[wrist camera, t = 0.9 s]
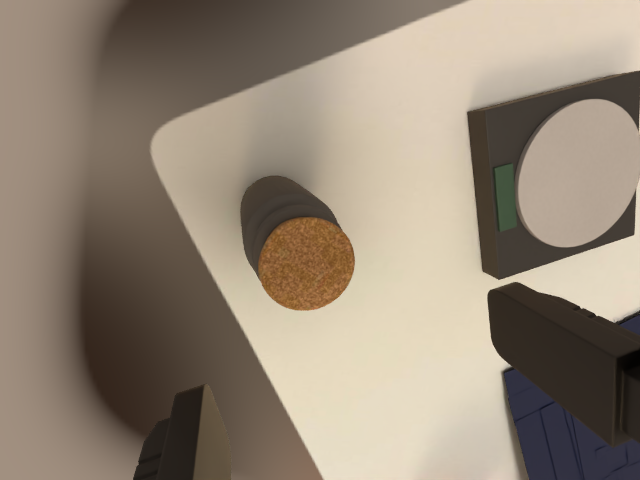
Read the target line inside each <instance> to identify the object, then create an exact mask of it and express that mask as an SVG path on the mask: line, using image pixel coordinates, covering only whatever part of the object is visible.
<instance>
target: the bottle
mask: <svg viewBox="0 0 640 480" xmlns="http://www.w3.org/2000/svg"><path fill="white" fill-rule="evenodd" d="M241 226H242V235H243V244H244V250H245V254H246V257H247V259H248V261H249V263H250V265H251V266H252V268H253V269H254V271H255V272H256V274H257V276H258V278H259V280H260V281H261V283H262V286H263V288H264V289H265V291H266V292H267V294H268V295H269V296H270V297H271V298H272V299H273V300H274V301H276V302H277V303H278V304H280V305H282V306H284V307H286V308H289V309H293V310H314V309H318V308H321V307H323V306H326V305H327V304H329V303H331V302H332V301H334V300H335V299H337V298H338V297H339V296H340V295H341V294H342V293H343V291H344V290H345V289H346V287H347V286H348V284H349V282H350V280H351V278H352V275H353V271H354V264H355V258H354V251H353V248H352V245H351V243H350V240H349V239H348V237H347V236H346V234H345V233H344V232H343V231H342V229H341V227H340V225H339V224H338V223H337V220H336V218H335V216H334V214H333V213H332V211H331V210H330V209H329V208H328V207H327V206H326V204H324V203H323V202H322V201H321V200H319V199H318V198H317V197H315V196H314V195H313V194H311V193H310V192H309V191H307V190H306V189H304V188H303V187H301V186H300V185H298V184H297V183H295V182H294V181H292V180H290V179H288V178H285V177H281V176H269V177H265V178H262V179H260V180H258V181H256V182H255V183H253V184H252V185H251V186H250V187H249V188H248V190H247V191H246V192H245V194H244V196H243V199H242V202H241Z"/></svg>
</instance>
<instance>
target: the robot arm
mask: <svg viewBox="0 0 640 480" xmlns="http://www.w3.org/2000/svg"><path fill="white" fill-rule="evenodd" d="M487 299H488V310H489V321H490V332H491V339H492V343H493V345H494V347H495V349H496V351H497V352H498V354H499V355H500V356H501V357H502V358H503V359H504V360H505V361H506V362H507V363H509V364H510V365H511V366H512V367H514V368H515V369H516V370H517V371H519V372H520V373H521V374H522V375H523V376H525V377H526V378H527V379H528V380H530V381H531V382H532V383H533V384H535V385H536V386H537V387H538V388H539V389H541V390H542V391H543V392H544V393H546V394H547V395H548V396H549V397H551V398H552V399H553V400H554V401H555V402H557V403H558V404H559V405H560V406H562V407H563V408H564V409H565V410H567V411H568V412H569V413H570V414H571V415H573V416H574V417H575V418H576V419H578V420H579V421H580V422H581V423H583V424H584V425H585V426H586V427H587V428H589V429H590V430H591V431H592V432H594V433H595V434H596V435H597V436H599V437H600V438H601V439H602V440H603V441H605V442H606V443H607V444H608V445H610V446H611V447H612V448H614V447H617V446H619V445H621V444H624V443H626V442H628V441H631V440H633V439H634V440H635V441H637V442H638V443H639V444H640V335H638V334H636V333H634V332H632V331H630V330H628V329H625V328H623V327H621V326H619V325H617V324H615V323H613V322H611V321H609V320H607V319H605V318H603V317H601V316H596V315H595V314H594V313H592V312H590V311H588V310H586V309H584V308H583V309H581V308H580V306H578V305H576V304H574V303H571V302H569V301H567V300H565V299H563V298H560V297H556V296H552V295H548V294H544V293H539V292H537V291H535V290H533V289H531V288H529V287H527V286H525V285H523V284H521V283H518V282H513V283H510V284H507V285H504V286H501V287H498V288H495V289H492V290H490V291H489V293H488V297H487ZM138 462H139V465H138V466H137V467H136V471H135V474H134V478H133V480H231V450H230V443H229V438H228V435H227V431H226V428H225V426H224V423H223V420H222V418H221V415H220V412H219V410H218V407H217V405H216V402H215V399H214V397H213V394H212V392H211V389H210V387H209V386H208V385H207V384H204V385H201V386H198V387H195V388H192V389H189V390H186V391H182V392H179V393H177V394H176V395H175V399H174V403H173V407H172V411H171V416H170V418H168V419H165V420H162V421H159V422H158V423H157V424H156V425H155V427H154V428H153V430H152V431H151V433H150V434H149V436H148V437H147V438H146V440H145V441H144V444H143V447H142V451H141V454H140V457H139V461H138Z"/></svg>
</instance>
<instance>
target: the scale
mask: <svg viewBox="0 0 640 480" xmlns="http://www.w3.org/2000/svg"><path fill="white" fill-rule="evenodd" d="M639 110H640V71H634V72H629V73H623V74H617V75H612V76H608V77H604V78H600V79H596V80H592V81H588V82H584V83H580V84H576V85H572V86H568V87H564V88H561V89H557V90H553V91H549V92H545V93H541V94H537V95H533V96H529V97H525V98H521V99H517V100H513V101H509V102H505V103H501V104H497V105H493V106H489V107H485V108H481V109H477V110H473V111H469V112H468V121H469V131H470V142H471V152H472V163H473V173H474V183H475V194H476V204H477V214H478V225H479V235H480V246H481V256H482V266H483V272H485V273H487V274H489V275H491V276H493V277H495V278H496V279H498V280H500V279H503V278H506V277H509V276H512V275H515V274H518V273H521V272H524V271H527V270H530V269H533V268H536V267H539V266H542V265H545V264H548V263H551V262H554V261H557V260H560V259H563V258H566V257H569V256H572V255H575V254H578V253H581V252H584V251H587V250H590V249H593V248H596V247H599V246H602V245H605V244H608V243H611V242H614V241H618V240H621V239H624V238H627V237H630V236H633V235H634V231H635V207H636V188H637V185H638V181H639V178H640V135H639Z"/></svg>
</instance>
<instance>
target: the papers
mask: <svg viewBox="0 0 640 480" xmlns="http://www.w3.org/2000/svg"><path fill="white" fill-rule="evenodd" d="M619 326H621V327H623V328H625V329H628V330H630V331H632V332H634V333H636V334H638V335H640V315H638V316H636V317H634V318H632V319H630V320H628V321H626V322H624V323H622V324H620V325H619ZM504 376H505V381H506V386H507V391H508V396H509V398H508V400H509V404H510V408H511V412H512V416H513V420H514V423H515V426H516V429H517V433H518V437H519V441H520V445H521V449H522V453H523V457H524V461H525V465H526V469H527V473H528V477H529V480H640V444H639V443H638V442H637V441H635V440H634V439H633V440H631V441H628V442H626V443H624V444H621V445H619V446H617V447H614V448H612V447H611V446H610V445H608V444H607V443H606V442H605V441H603V440H602V439H601V438H600V437H599V436H597V435H596V434H595V433H594V432H592V431H591V430H590V429H589V428H587V427H586V426H585V425H584V424H583V423H581V422H580V421H579V420H578V419H576V418H575V417H574V416H573V415H571V414H570V413H569V412H568V411H567V410H565V409H564V408H563V407H562V406H560V405H559V404H558V403H557V402H555V401H554V400H553V399H552V398H551V397H549V396H548V395H547V394H546V393H544V392H543V391H542V390H541V389H539V388H538V387H537V386H536V385H535V384H533V383H532V382H531V381H530V380H528V379H527V378H526V377H525V376H523V375H522V374H521V373H520V372H519V371H517V370H516V369H513V370H511V371H508V372H506V373H504Z"/></svg>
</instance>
